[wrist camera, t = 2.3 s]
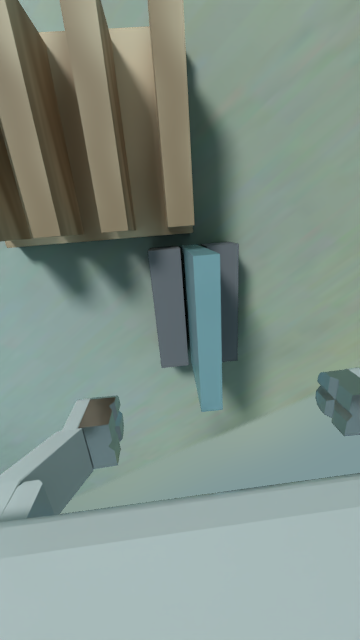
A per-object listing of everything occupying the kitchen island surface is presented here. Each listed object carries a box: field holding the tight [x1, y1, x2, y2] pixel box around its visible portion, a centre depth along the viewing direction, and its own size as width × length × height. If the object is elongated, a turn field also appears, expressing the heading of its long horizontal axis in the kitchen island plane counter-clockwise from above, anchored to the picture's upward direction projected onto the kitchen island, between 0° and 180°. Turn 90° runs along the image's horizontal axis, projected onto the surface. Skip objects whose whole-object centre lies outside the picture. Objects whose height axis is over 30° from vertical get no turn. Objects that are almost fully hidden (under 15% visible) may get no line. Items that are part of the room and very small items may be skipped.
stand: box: [148, 242, 239, 368], centre depth 21 cm, size 7×10×3 cm
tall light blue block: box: [181, 244, 223, 412], centre depth 18 cm, size 1×10×9 cm, turn 5°
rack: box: [0, 0, 194, 248], centre depth 15 cm, size 14×12×6 cm
